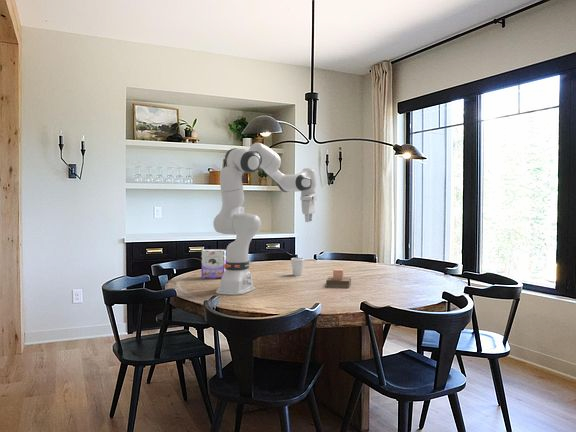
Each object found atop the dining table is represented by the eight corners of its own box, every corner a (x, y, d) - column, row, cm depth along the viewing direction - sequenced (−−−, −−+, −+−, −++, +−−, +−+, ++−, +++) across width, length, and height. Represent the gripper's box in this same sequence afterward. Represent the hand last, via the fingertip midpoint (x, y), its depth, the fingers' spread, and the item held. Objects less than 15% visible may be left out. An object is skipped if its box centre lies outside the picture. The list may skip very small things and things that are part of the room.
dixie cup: (288, 274, 287) (288, 258, 286) (301, 273, 290) (301, 257, 289) (293, 276, 279) (293, 259, 278) (306, 275, 282) (306, 259, 281)
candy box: (226, 277, 277) (226, 249, 276) (224, 278, 271) (224, 250, 270) (203, 276, 278) (203, 249, 278) (201, 278, 273) (200, 250, 272)
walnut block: (349, 288, 245) (349, 281, 245) (326, 287, 247) (326, 280, 247) (350, 284, 256) (351, 277, 256) (329, 283, 259) (329, 276, 259)
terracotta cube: (342, 279, 248) (342, 270, 248) (333, 279, 249) (333, 270, 249) (343, 278, 253) (343, 269, 253) (334, 277, 254) (334, 268, 254)
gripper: (306, 197, 278) (306, 220, 278) (299, 197, 258) (299, 222, 258) (317, 197, 276) (317, 220, 277) (311, 197, 256) (310, 222, 257)
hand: (308, 221), depth 267 cm, fingers open, 8 cm apart
